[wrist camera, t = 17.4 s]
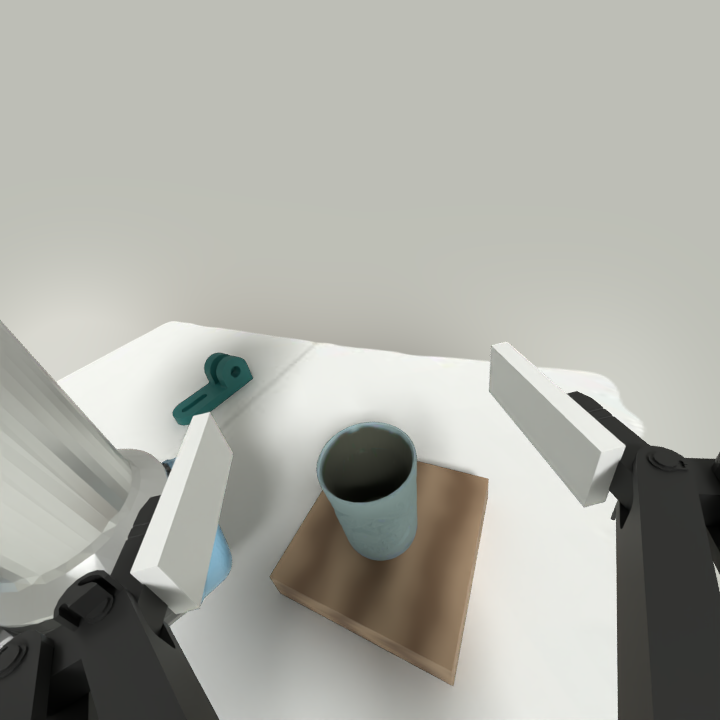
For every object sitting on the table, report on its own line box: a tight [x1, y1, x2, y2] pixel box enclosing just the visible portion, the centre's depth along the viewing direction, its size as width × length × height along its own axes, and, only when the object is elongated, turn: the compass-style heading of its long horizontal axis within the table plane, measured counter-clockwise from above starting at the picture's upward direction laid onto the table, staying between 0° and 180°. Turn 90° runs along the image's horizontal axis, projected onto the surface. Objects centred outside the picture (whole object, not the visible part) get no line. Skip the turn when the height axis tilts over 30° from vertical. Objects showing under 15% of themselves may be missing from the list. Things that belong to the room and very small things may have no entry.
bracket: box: [173, 353, 253, 425], centre depth 74 cm, size 18×7×8 cm, turn 148°
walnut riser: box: [270, 461, 488, 686], centre depth 41 cm, size 20×20×4 cm
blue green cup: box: [317, 422, 417, 561], centre depth 36 cm, size 10×10×12 cm
